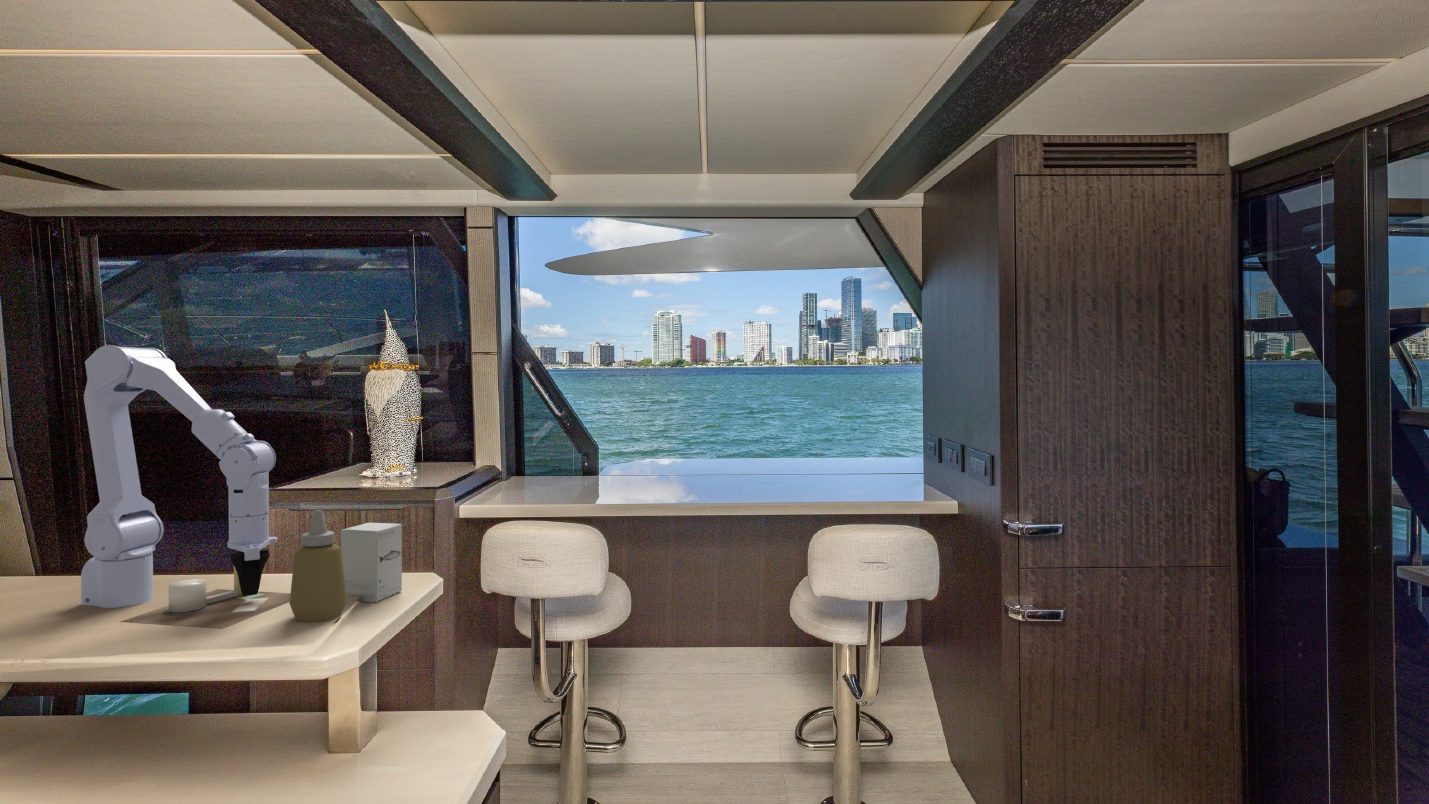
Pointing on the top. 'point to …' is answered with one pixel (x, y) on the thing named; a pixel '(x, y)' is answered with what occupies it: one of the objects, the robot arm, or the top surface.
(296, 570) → the squeeze bottle
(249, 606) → the brown flat square board
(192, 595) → the peg lever
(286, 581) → the top surface
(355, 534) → the supplement box
